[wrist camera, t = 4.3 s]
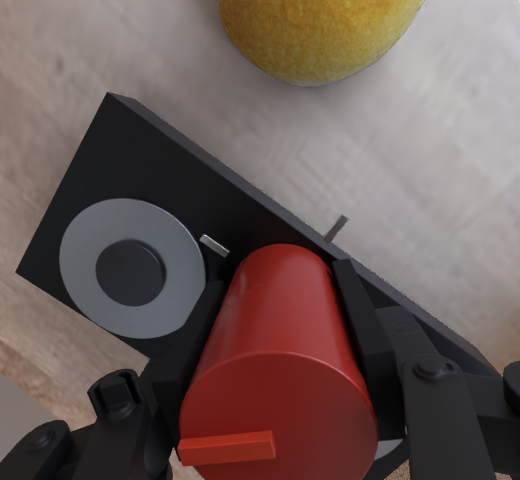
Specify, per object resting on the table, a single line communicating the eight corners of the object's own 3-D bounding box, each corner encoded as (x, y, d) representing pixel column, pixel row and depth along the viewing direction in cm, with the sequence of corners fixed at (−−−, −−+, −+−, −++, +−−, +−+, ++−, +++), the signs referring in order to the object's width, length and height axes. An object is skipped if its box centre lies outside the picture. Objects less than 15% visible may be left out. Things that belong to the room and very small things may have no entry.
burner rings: (442, 400, 17) (447, 410, 16) (349, 481, 19) (351, 492, 18) (104, 165, 15) (96, 166, 14) (39, 283, 17) (31, 288, 16)
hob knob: (326, 234, 15) (369, 345, 7) (342, 330, 16) (393, 518, 8) (220, 253, 15) (148, 374, 8) (243, 344, 17) (202, 529, 9)
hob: (501, 326, 18) (535, 357, 16) (356, 456, 21) (365, 499, 19) (150, 65, 16) (124, 52, 13) (48, 255, 19) (11, 273, 17)
